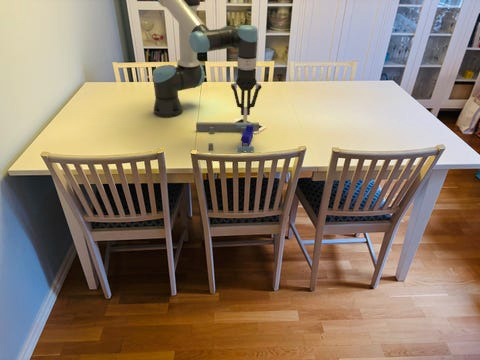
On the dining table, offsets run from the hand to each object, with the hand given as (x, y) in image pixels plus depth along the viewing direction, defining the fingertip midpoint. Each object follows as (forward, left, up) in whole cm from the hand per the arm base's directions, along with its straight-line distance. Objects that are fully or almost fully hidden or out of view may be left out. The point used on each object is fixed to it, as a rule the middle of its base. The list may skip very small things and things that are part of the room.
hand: (245, 121), depth 149 cm
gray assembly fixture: (-8, 0, -10) cm, 12 cm away
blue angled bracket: (+1, -1, -10) cm, 10 cm away
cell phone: (+2, +16, -11) cm, 19 cm away
